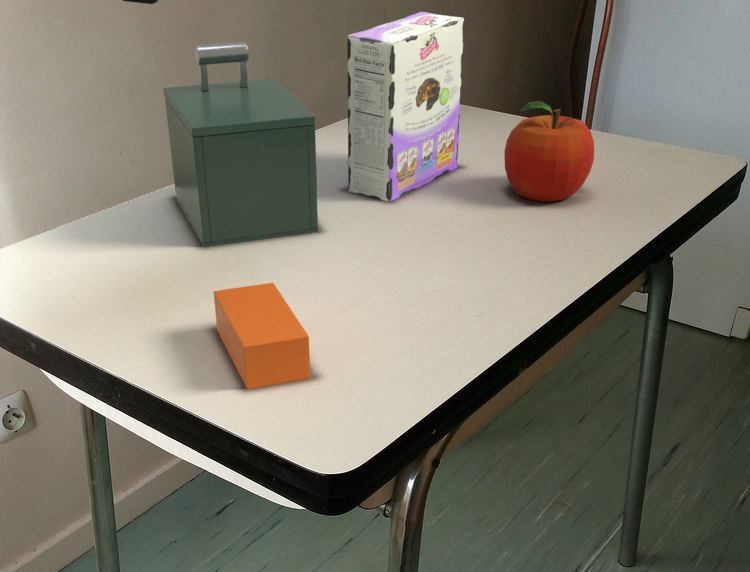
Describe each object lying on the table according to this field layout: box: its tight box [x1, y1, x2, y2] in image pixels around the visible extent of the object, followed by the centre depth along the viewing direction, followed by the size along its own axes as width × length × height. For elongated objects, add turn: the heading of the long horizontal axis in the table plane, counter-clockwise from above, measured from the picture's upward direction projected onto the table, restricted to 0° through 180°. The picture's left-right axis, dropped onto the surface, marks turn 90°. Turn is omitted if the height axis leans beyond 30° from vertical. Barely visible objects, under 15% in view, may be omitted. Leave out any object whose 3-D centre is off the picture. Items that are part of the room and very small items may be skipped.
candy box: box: [347, 11, 465, 202], centre depth 108 cm, size 14×6×16 cm, turn 144°
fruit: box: [503, 100, 595, 203], centre depth 107 cm, size 10×10×10 cm
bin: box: [164, 97, 319, 248], centre depth 101 cm, size 14×12×11 cm
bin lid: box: [162, 41, 316, 137], centre depth 96 cm, size 14×12×5 cm
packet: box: [213, 282, 311, 390], centre depth 79 cm, size 5×10×4 cm, turn 20°
